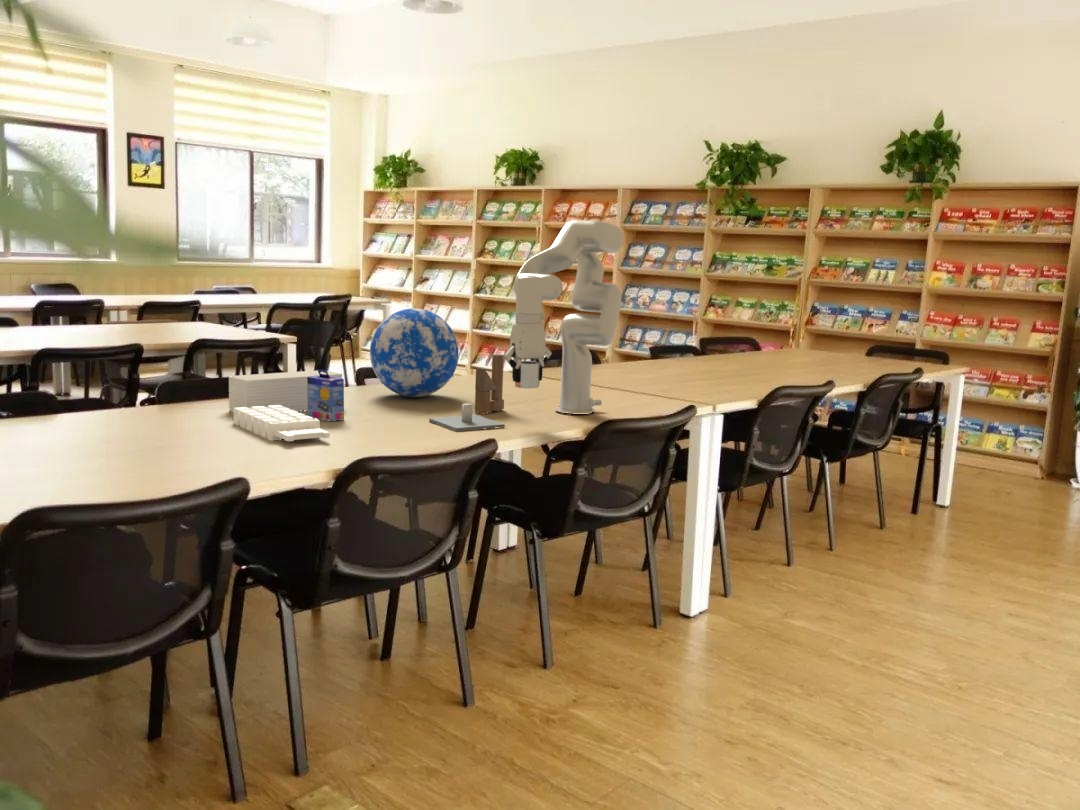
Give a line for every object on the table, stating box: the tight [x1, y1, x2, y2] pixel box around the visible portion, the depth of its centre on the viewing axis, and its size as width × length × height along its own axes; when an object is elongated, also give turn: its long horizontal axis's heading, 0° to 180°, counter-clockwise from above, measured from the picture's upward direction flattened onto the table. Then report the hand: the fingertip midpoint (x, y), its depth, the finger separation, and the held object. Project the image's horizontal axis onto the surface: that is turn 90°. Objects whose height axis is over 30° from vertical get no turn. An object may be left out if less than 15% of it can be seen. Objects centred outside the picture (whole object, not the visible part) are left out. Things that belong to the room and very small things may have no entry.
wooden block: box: [474, 353, 505, 414], centre depth 297 cm, size 4×11×18 cm, turn 145°
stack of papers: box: [228, 369, 343, 413], centre depth 287 cm, size 32×11×11 cm, turn 135°
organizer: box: [233, 405, 331, 442], centre depth 252 cm, size 13×5×35 cm
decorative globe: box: [369, 307, 460, 398], centre depth 320 cm, size 30×30×30 cm
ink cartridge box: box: [307, 369, 345, 422], centre depth 273 cm, size 10×6×14 cm, turn 59°
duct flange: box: [428, 403, 506, 432], centre depth 274 cm, size 16×16×6 cm
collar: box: [514, 360, 540, 389], centre depth 274 cm, size 7×7×7 cm
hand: (527, 380), depth 274 cm, fingers closed on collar, 6 cm apart
